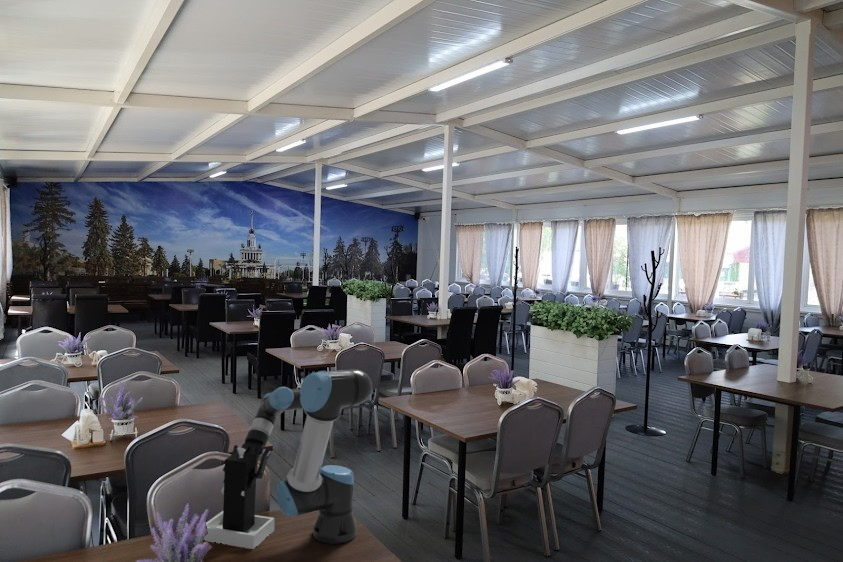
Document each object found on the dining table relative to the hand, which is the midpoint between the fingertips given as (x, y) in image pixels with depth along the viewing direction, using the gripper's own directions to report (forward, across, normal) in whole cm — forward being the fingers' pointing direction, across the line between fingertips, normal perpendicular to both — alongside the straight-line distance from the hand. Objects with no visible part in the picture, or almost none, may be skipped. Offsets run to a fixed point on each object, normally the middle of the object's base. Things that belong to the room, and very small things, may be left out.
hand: (233, 494), depth 199 cm
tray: (+8, 0, -13) cm, 16 cm away
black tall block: (+7, 0, -12) cm, 14 cm away
